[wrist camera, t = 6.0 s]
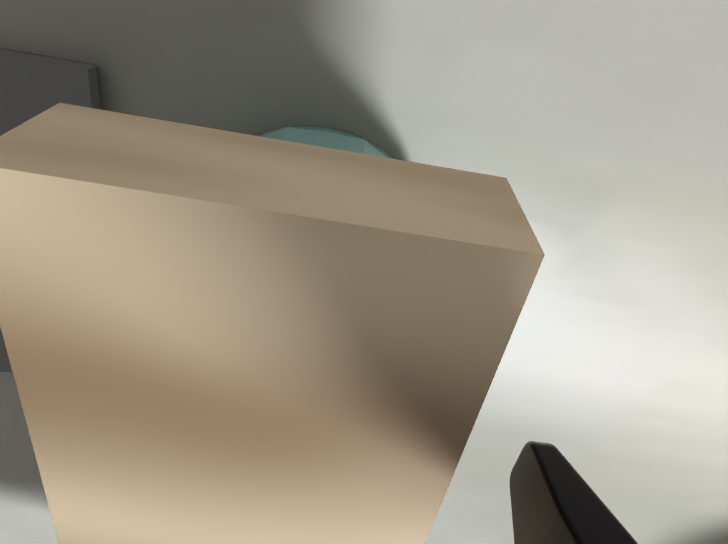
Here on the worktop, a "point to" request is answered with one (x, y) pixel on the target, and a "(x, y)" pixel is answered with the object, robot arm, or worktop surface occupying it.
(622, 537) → the robot arm
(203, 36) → the worktop surface
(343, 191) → the board
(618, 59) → the worktop surface
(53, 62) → the mat
